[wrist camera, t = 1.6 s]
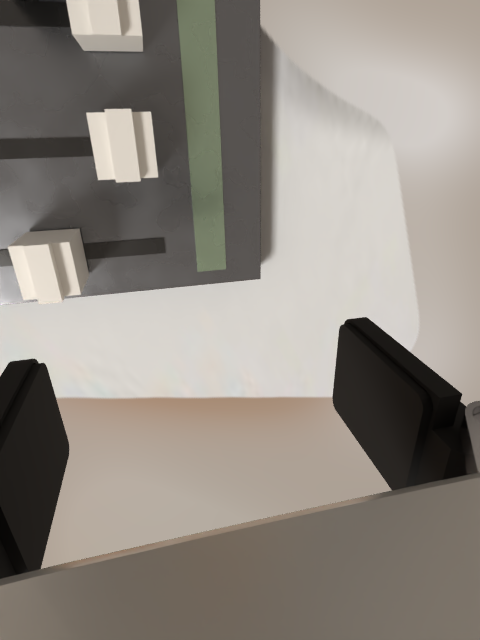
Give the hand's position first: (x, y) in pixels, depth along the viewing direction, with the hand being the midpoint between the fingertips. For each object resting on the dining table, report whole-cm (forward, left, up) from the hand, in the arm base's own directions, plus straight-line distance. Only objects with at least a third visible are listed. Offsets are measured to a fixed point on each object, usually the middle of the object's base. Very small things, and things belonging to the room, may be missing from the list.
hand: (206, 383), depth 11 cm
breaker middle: (-6, -2, -16) cm, 17 cm away
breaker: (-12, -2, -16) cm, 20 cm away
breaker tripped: (0, -7, -16) cm, 17 cm away
